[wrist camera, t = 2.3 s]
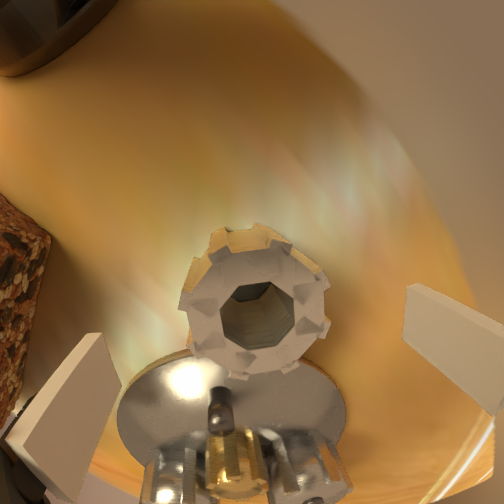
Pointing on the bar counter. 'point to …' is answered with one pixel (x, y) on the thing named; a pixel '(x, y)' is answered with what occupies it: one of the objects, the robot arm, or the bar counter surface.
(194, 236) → the bar counter surface
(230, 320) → the planet gear
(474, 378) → the robot arm
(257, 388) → the carrier
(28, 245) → the bread
